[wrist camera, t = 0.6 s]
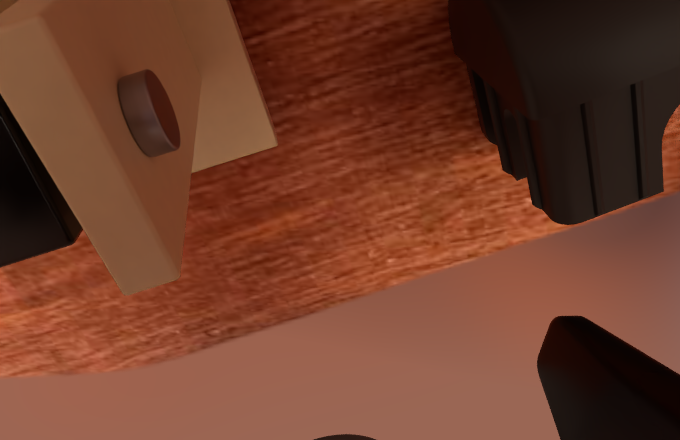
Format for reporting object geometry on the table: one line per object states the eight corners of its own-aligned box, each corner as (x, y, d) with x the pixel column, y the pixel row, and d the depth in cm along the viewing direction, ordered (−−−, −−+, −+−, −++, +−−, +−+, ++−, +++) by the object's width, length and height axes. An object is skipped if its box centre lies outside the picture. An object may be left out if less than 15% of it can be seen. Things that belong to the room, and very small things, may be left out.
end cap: (735, -174, 18) (970, -186, 12) (730, 46, 22) (908, 115, 16) (422, -48, 19) (510, -2, 13) (471, 147, 22) (555, 248, 17)
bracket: (-144, -118, 15) (-737, -68, 6) (153, -213, 15) (35, -316, 6) (55, 201, 21) (-88, 495, 11) (276, 131, 21) (317, 368, 11)
